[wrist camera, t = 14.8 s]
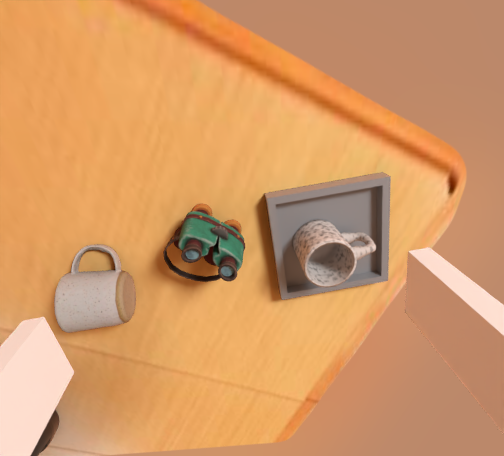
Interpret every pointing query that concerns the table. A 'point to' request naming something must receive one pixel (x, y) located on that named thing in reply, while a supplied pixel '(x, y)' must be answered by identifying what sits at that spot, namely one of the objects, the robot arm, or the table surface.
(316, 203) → the tray
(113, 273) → the ceramic mug
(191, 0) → the table surface
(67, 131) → the table surface
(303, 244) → the mug
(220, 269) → the binoculars
